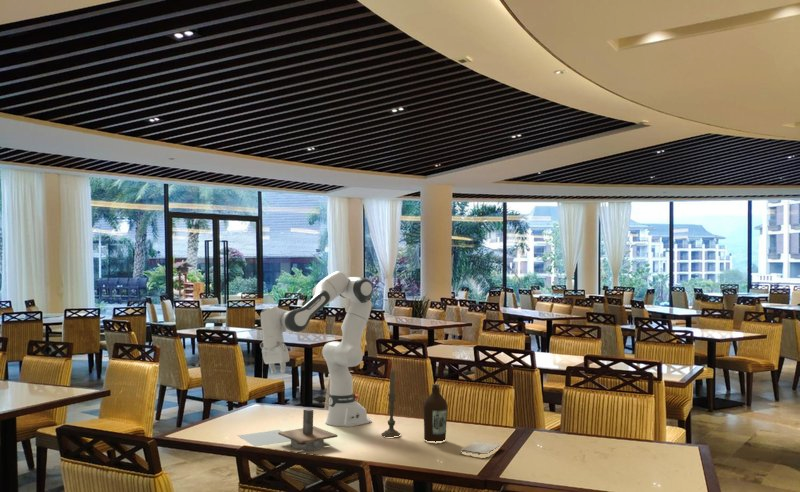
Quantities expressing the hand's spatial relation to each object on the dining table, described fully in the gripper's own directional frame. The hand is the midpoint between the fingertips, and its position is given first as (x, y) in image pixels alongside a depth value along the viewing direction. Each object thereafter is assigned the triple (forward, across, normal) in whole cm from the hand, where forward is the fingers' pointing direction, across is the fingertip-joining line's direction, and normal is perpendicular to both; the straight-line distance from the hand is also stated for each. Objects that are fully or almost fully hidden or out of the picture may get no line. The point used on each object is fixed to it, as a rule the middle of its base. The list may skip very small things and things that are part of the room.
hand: (278, 373), depth 296 cm
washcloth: (+46, -62, -56) cm, 96 cm away
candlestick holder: (+37, -22, -40) cm, 59 cm away
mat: (+27, +1, +9) cm, 29 cm away
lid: (+27, -18, 0) cm, 33 cm away
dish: (+32, -18, 0) cm, 36 cm away
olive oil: (+41, -40, -50) cm, 76 cm away
